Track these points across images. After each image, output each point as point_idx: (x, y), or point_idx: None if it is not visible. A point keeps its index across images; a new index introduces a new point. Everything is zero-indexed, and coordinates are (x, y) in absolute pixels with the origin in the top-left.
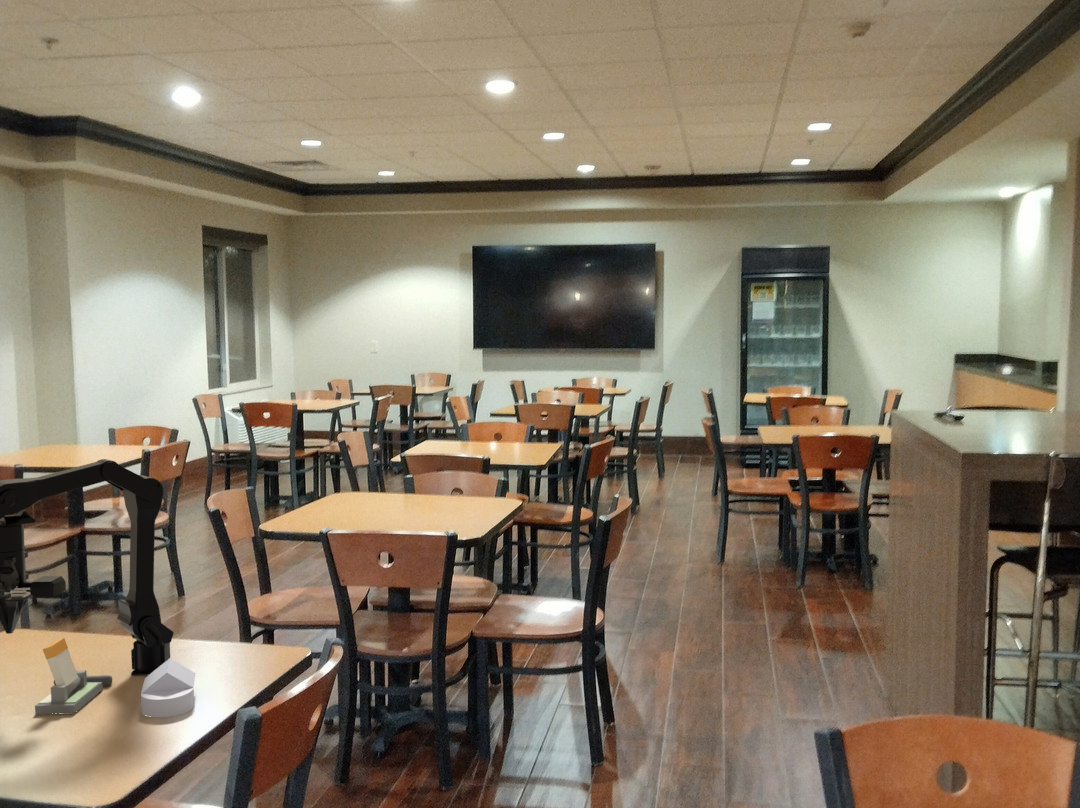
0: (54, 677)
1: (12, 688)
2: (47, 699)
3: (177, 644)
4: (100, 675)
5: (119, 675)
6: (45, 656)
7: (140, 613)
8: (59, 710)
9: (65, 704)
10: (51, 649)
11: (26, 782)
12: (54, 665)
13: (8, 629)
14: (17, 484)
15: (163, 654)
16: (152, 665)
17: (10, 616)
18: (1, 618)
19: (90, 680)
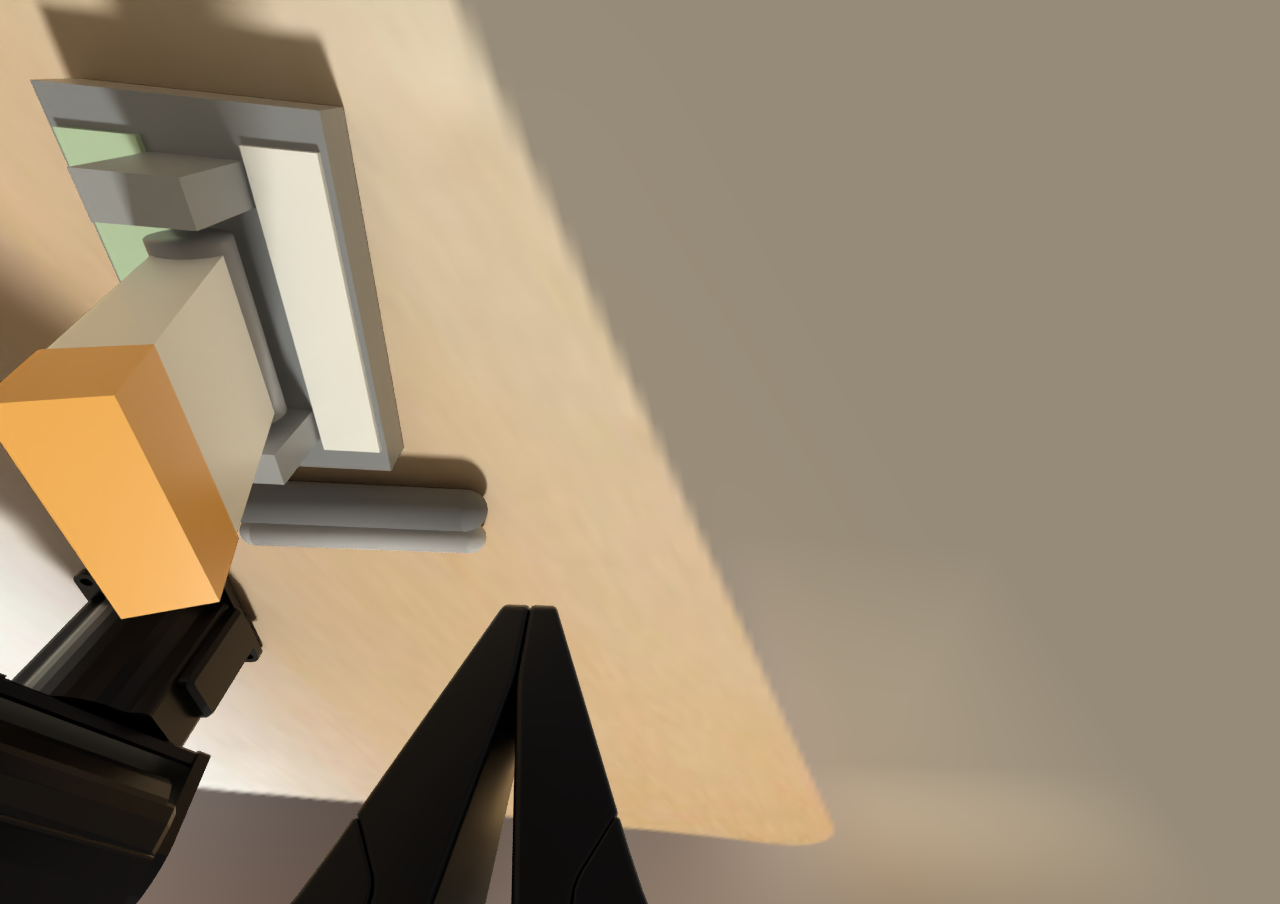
0: (192, 282)
1: (665, 494)
2: (298, 210)
3: (289, 774)
4: (291, 542)
5: (284, 579)
6: (142, 359)
7: None
8: (166, 90)
9: (112, 108)
10: (8, 387)
11: None
12: (122, 320)
13: (516, 642)
14: None
15: (35, 656)
16: (106, 607)
17: (398, 832)
18: (575, 795)
19: (297, 495)
